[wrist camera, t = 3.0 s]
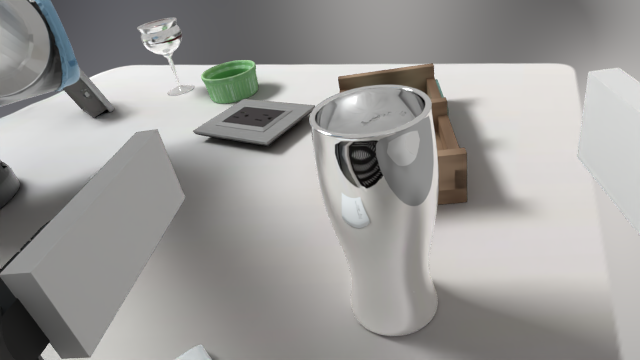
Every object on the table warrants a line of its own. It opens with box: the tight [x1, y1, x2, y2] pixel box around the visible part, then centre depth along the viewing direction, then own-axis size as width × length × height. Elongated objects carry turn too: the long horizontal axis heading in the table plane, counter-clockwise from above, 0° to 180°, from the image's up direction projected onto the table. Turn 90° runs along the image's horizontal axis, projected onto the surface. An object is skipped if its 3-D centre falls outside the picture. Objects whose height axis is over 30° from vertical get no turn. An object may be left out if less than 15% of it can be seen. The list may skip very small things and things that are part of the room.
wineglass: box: [138, 18, 194, 96], centre depth 79 cm, size 7×7×12 cm
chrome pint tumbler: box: [309, 85, 439, 336], centre depth 28 cm, size 7×7×15 cm
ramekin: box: [201, 60, 258, 104], centre depth 74 cm, size 9×9×4 cm
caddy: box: [338, 63, 467, 205], centre depth 49 cm, size 12×23×5 cm, turn 175°
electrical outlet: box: [193, 99, 315, 146], centre depth 61 cm, size 13×10×2 cm
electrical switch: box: [63, 68, 114, 118], centre depth 78 cm, size 9×5×9 cm, turn 40°
